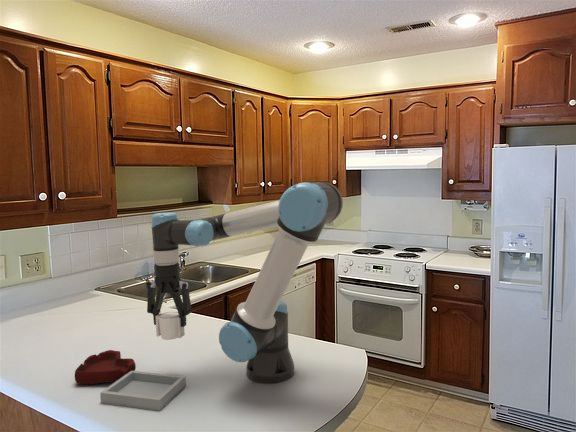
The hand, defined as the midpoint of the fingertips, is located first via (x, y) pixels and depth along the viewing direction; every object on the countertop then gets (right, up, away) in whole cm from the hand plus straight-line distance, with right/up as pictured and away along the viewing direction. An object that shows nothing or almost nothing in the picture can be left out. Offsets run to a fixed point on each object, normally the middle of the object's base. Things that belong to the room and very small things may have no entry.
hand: (170, 335), depth 141 cm
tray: (-4, -14, -11) cm, 18 cm away
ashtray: (-21, -14, +1) cm, 25 cm away
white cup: (0, -1, 0) cm, 1 cm away
